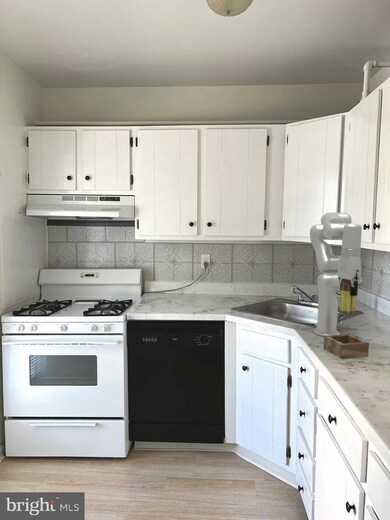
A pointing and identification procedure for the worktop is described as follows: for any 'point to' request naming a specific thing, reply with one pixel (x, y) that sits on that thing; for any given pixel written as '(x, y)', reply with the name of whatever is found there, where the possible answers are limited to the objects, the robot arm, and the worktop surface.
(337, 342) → the walnut sleeve
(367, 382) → the worktop surface
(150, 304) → the worktop surface
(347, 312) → the sauce bottle
